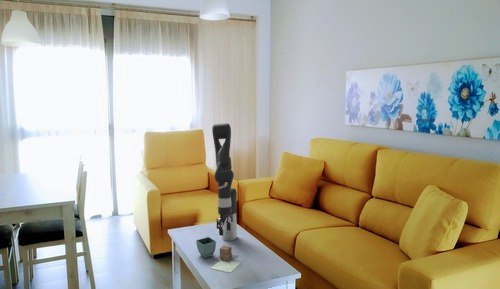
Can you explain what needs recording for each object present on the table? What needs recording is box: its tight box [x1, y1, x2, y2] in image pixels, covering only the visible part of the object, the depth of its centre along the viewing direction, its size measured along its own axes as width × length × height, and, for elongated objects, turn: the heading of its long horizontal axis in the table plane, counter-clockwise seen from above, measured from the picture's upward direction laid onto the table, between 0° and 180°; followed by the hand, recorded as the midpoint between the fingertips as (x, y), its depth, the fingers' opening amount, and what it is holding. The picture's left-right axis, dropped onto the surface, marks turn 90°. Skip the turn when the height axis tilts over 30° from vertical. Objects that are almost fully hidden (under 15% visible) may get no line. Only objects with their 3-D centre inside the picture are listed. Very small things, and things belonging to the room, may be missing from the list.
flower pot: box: [195, 236, 217, 259], centre depth 218 cm, size 9×9×9 cm
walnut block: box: [219, 244, 233, 260], centre depth 215 cm, size 5×5×6 cm
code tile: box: [213, 253, 238, 262], centre depth 216 cm, size 10×10×1 cm
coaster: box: [210, 259, 242, 274], centre depth 205 cm, size 12×12×1 cm
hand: (225, 232), depth 213 cm, fingers open, 8 cm apart
